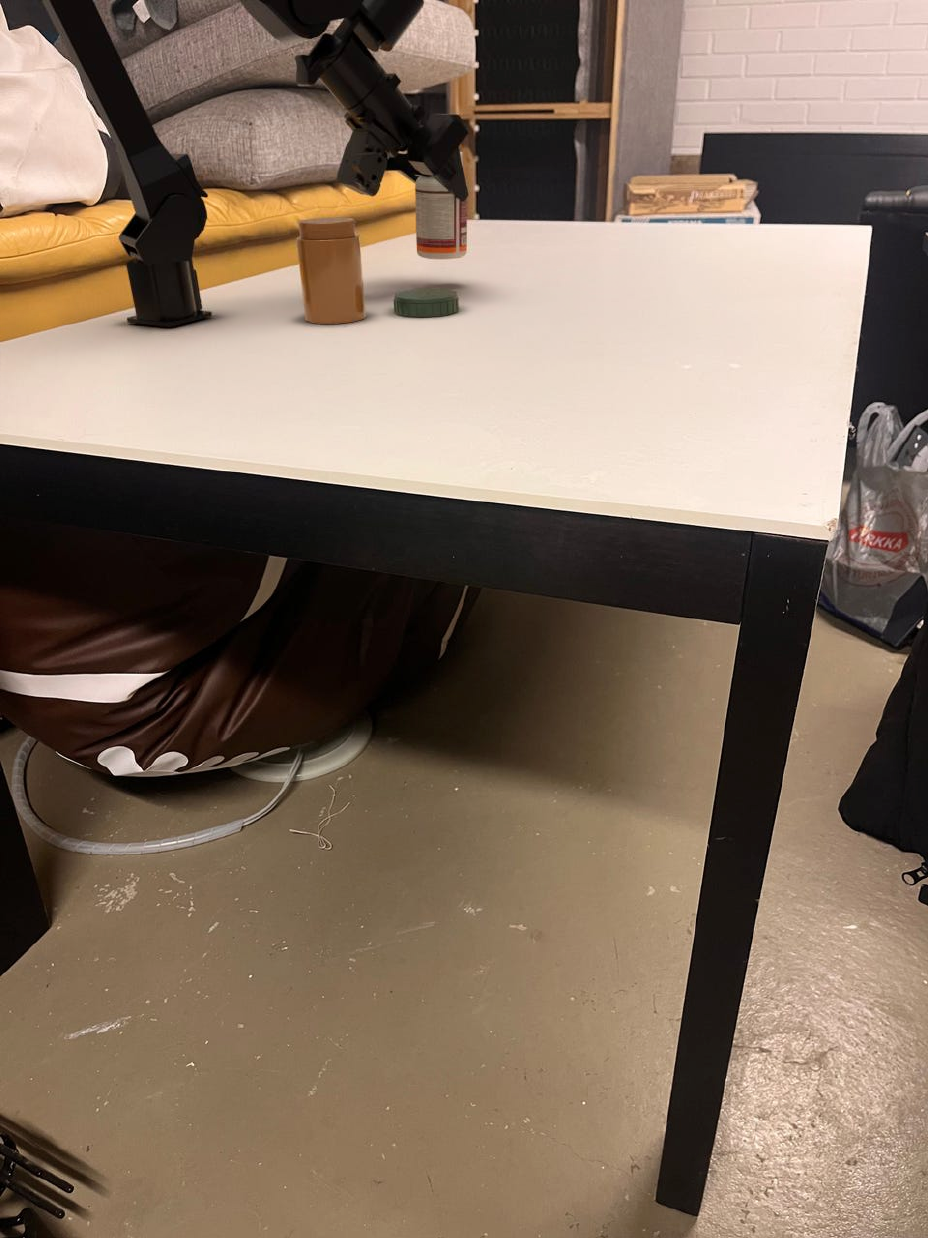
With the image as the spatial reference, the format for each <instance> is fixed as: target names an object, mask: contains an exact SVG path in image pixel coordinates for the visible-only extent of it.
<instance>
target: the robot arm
mask: <svg viewBox="0 0 928 1238" xmlns="http://www.w3.org/2000/svg"><path fill="white" fill-rule="evenodd" d="M238 1H239V2H240V4H241V5H242V6H243V8H244V9H245V10H246V12H247V13H248V14H249V15H250V16H251V17H252V18H253V19H254V20H255V21H256V22H257V23H258V24H259V25H260V26H261V27H262V28H263V29H264V30H265V31H266V32H267V33H268V34H269V35H271V37H272V38H273V39H275V40H277V41H279V42H281V43H283V44H288V45H290V44H295V43H296V44H297V43H300V42H304V41H308V40H313V39H316V38H318V37H319V38H318V40H316V42H315V44H314V45H313V47H312V48H311V49H310V51H309V52H308V54H297V55H295V56H294V60H295V61H294V62H295V66H296V71H295V83H296V85H297V86H298V87H313V86H314V85H316V83H317V82H318V81H319V80H320V82H321V83H322V84H323V85H324V87H326V89H327V91H329V92H330V93H331V95H332V96H333V97H334V98H335V99H336V101H337V102H338V103H339V105H341V106H342V107H343V109H344V110H345V111H346V113H345V114H344V116H343V117H344V119H345V121H344V122H345V124H346V125H347V126H348V128H349V129H350V130H351V131H352V132H351V135H350V137H349V140H348V142H347V143H346V145H345V149H344V151H343V155H342V159H341V161H340V164H339V168H338V171H337V175H336V182H337V184H339V185H342V186H344V187H345V188H348V189H349V190H351V191H353V192H356V193H357V194H359V195H364V196H369V197H375V196H376V195H377V194H378V193H379V192H380V187H381V183H382V181H383V178H384V175H385V172H397V173H398V174H400V175H402V176H403V177H404V178H406V179H408V180H409V181H411V182H412V183H413V184H415V183H416V180H417V179H418V177H420V176H422V177H431V176H433V177H434V178H435V179H436V180H437V181H438V182H439V183H440V184H441V185H443V186H444V187H445V188H446V189H447V190H448V191H449V192H450V193H451V194H453V195H454V196H455V197H456V198H457V199H459V200H460V201H461V202H464V201H465V200H466V198H467V199H468V197H469V190H468V184H467V185H466V183H467V180H466V177H465V171H464V165H463V166H462V161H461V155H460V152H461V149H460V146H461V144H462V143H463V141H464V140H465V139H466V138H467V136H468V135H469V133H470V128H469V126H468V125H467V123H466V122H465V121H464V120H463V118H462V116H461V115H460V114H457V113H455V114H454V113H432V114H431V115H430V116H429V118H428V119H427V121H426V122H425V123H424V125H421V124H420V121H421V119H422V118H423V117H424V116H425V114H426V111H425V109H423V107H422V105H420V104H411V102H410V101H409V99H408V98H407V97H406V96H405V94H403V92H402V91H401V89H400V88H399V85H400V84H401V83H402V80H401V79H400V77H399V76H398V75H397V74H396V73H395V72H394V73H387V72H386V69H384V68H383V67H382V65H381V64H380V62H379V61H378V59H376V57H375V56H374V55H373V54H372V52H374V53H378V52H379V50H381V51H383V52H387V53H388V52H391V51H392V50H393V49H394V47H395V46H396V45H397V43H398V42H399V41H400V39H401V38H402V36H403V35H404V34H405V33H406V31H407V30H408V28H409V27H410V25H411V24H412V23H413V21H414V20H415V18H416V17H417V16H418V14H419V13H420V12H421V11H422V9H423V8H424V5H425V1H424V0H238ZM41 2H42V4H43V6H44V7H45V9H46V11H47V13H48V15H49V17H50V19H51V21H52V24H53V25H54V28H55V29H56V31H57V33H58V36H60V39H61V41H62V44H63V45H64V47H65V49H66V51H67V54H68V55H69V57H70V59H71V61H72V63H73V65H74V67H75V69H76V71H77V73H78V76H80V79H81V81H82V83H83V85H84V86H85V89H86V91H87V92H88V95H89V96H90V99H91V101H92V102H93V105H94V107H95V109H96V111H97V112H98V114H99V116H100V119H101V120H102V123H103V124H104V126H105V128H106V130H107V132H108V135H109V137H110V138H111V140H112V142H113V144H114V146H115V148H116V150H117V152H118V156H119V160H120V163H121V167H122V172H123V177H124V181H125V184H126V185H125V186H126V188H127V191H128V195H129V197H130V201H131V203H132V206H133V209H134V212H135V213H134V214H133V215H132V216H131V219H129V221H128V222H127V224H126V225H125V226H124V228H123V229H122V231H121V232H120V233H119V235H118V240H119V242H120V244H121V246H122V248H123V249H124V251H125V253H126V254H127V256H128V257H130V258H132V259H130V260H127V261H125V266H126V267H125V268H126V271H127V277H128V280H129V286H130V291H131V296H132V301H133V306H134V311H135V315H133V316H129V317H126V322H127V323H128V324H138V325H148V326H156V327H167V328H170V327H176V326H179V325H182V324H186V323H191V322H195V321H199V320H203V319H206V318H210V317H212V316H213V312H212V310H211V311H210V310H203V304H202V298H201V297H202V296H201V292H200V286H199V285H200V284H199V278H198V273H197V270H196V269H195V266H194V261H193V253H194V249H195V242H196V239H198V238H199V237H200V236H201V235H202V233H203V231H204V230H205V227H206V224H207V220H208V211H207V207H206V204H205V201H204V199H203V198H206V199H207V198H208V197H209V194H208V193H207V192H206V191H205V190H204V189H203V188H202V186H201V185H200V183H199V181H198V179H197V176H196V174H195V170H194V166H193V163H192V161H191V158H190V155H189V154H188V153H173V152H172V153H171V152H170V151H169V150H168V149H167V148H166V146H165V145H164V144H163V142H162V141H161V139H160V138H159V136H158V134H157V132H156V130H155V128H154V126H153V124H152V122H151V120H150V118H149V116H148V113H147V111H146V109H145V108H144V104H143V103H142V101H141V98H140V96H139V95H138V92H137V90H136V88H135V85H134V83H133V81H132V80H131V78H130V76H129V74H128V71H127V69H126V67H125V65H124V63H123V61H122V58H121V57H120V54H119V52H118V50H117V48H116V46H115V43H114V42H113V39H112V37H111V35H110V33H109V31H108V29H107V27H106V25H105V23H104V21H103V18H102V16H101V13H100V12H99V10H98V8H97V6H96V4H95V2H94V0H41ZM339 20H342V21H341V22H340V23H339V25H338V26H337V28H336V29H335V30H334V31H333V32H332V34H331V33H329V32H328V33H326V31H327V30H328V27H329V25H330V24H331V23H332V22H336V21H339Z"/></svg>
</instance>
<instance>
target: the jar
mask: <svg viewBox="0 0 928 1238" xmlns="http://www.w3.org/2000/svg"><path fill="white" fill-rule="evenodd" d="M356 225H357V221H355V219H354V218H352V217H351V218H350V217H318V218H307V219H302V220H299V221H298V231H299V236H297V237H296V239H295V240H296V249H297V259H298V264H299V265H298V267H299V276H300V284H301V286H300V287H301V294H302V303H303V304H302V305H303V311H304V320H305V321H306V322H308V323H311V324H317V325H318V324H319V325H340V324H349V323H355V322H359V321H361V320H364V319H365V318H366V316H367V315H366V314H367V313H366V302H365V289H364V288H365V287H364V277H363V261H362V249H361V238H360V237H361V236H360V235H359V234H358V233H356Z"/></svg>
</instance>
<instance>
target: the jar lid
mask: <svg viewBox="0 0 928 1238" xmlns="http://www.w3.org/2000/svg"><path fill="white" fill-rule="evenodd" d="M458 294H459V293H458V291H456V290H453V289H447V288H433V287H432V288H415V289H407V290H402V291H401V290H400V291H398V292H395V293H394V294H393V311H394V313H395V314H396V315H398V316H402V317H407V318H408V317H409V318H435V317H437V318H438V317H444V316H449V315H453V314H455V313H457V312H458V311H459V308H460V306H459V297H458V296H459V295H458Z"/></svg>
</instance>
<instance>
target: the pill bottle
mask: <svg viewBox="0 0 928 1238" xmlns="http://www.w3.org/2000/svg"><path fill="white" fill-rule="evenodd" d="M460 155H461V161H462V166H463V167H464V164H463V163H464V159H463V158H464V155H463V152H462V151H460ZM414 184H415V185H414V194H415V197H414V199H415V202H414V203H415V235H416V236H415V237H416V239H415V241H416V242H415V243H416V253H417V255H418V256H419V257H421V258H423V259H426V260H427V259H428V260H455V259H462V258H463V257H465V256H466V254H467V250H468V248H467V247H468V245H467V244H468V197H467V198H466V200H465V201H464V202H461V201H460V200H459V199H457V198H456V197H455V196H454V195H453V194H451V193H450V192H449V191H448V190H447V189H446V188H445V187H444V186H443V185H441V184H440V183H439V182H438V181H437V180H436V179H435V178H434V177H433V176H431V177H422V176H420V177H418V179H417V180H416V183H414ZM466 185H467V186H468V183H467V182H466Z"/></svg>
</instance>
